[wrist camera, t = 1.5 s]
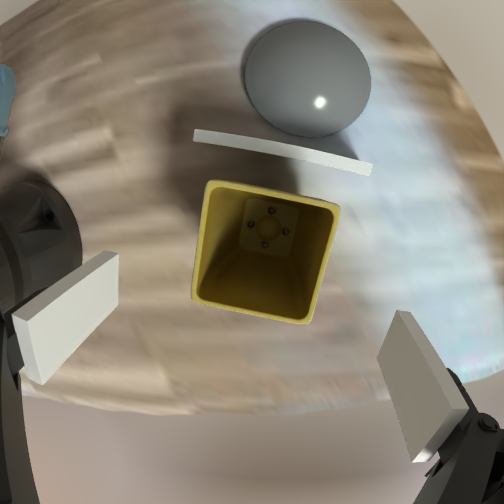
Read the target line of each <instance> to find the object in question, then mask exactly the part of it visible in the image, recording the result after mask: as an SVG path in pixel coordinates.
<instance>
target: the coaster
mask: <svg viewBox="0 0 504 504" xmlns="http://www.w3.org/2000/svg"><path fill="white" fill-rule="evenodd" d="M245 82H246V88H247V91H248V95H249V97H250V99H251V101H252V103H253V105H254V106H255V108H256V109H257V111H258V112H259V113H260V114H261V115H262V117H264V118H265V119H266V120H267V121H268V122H269V123H271V124H272V125H273V126H275V127H276V128H278V129H280V130H282V131H284V132H287V133H289V134H293V135H297V136H302V137H321V136H326V135H330V134H333V133H336V132H339V131H340V130H342V129H344V128H346V127H347V126H349V125H350V124H352V123H353V122H354V121H355V120H356V119H357V118H358V117H359V116H360V114H361V113H362V112H363V110H364V108H365V106H366V104H367V102H368V99H369V95H370V91H371V76H370V70H369V67H368V64H367V61H366V59H365V57H364V55H363V54H362V52H361V51H360V49H359V48H358V47H357V46H356V44H355V43H354V42H353V41H352V40H351V39H349V38H348V37H347V36H346V35H344V34H343V33H341V32H340V31H338V30H336V29H334V28H332V27H329V26H327V25H324V24H320V23H314V22H293V23H289V24H285V25H282V26H279V27H277V28H275V29H273V30H271V31H270V32H268V33H267V34H265V35H264V36H263V37H262V38H261V39H260V40H259V41H258V42H257V43H256V44H255V46H254V47H253V49H252V51H251V52H250V55H249V57H248V60H247V63H246V69H245Z"/></svg>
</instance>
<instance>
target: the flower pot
mask: <svg viewBox="0 0 504 504" xmlns="http://www.w3.org/2000/svg"><path fill="white" fill-rule="evenodd" d="M271 207H272V208H274V209H275V212H274V213H273V214H271V213H270V212H269V209H270V208H271ZM340 212H341V210H340V206H339V205H337V204H335V203H331V202H328V201H325V200H322V199H318V198H313V197H308V196H303V195H298V194H293V193H288V192H283V191H278V190H274V189H269V188H264V187H259V186H254V185H249V184H244V183H239V182H234V181H227V180H217V179H212V180H209V181H208V182H207V184H206V187H205V191H204V198H203V205H202V212H201V219H200V226H199V233H198V240H197V248H196V256H195V263H194V271H193V277H192V285H191V299H192V301H194V302H196V303H199V304H203V305H207V306H212V307H217V308H222V309H226V310H231V311H236V312H241V313H246V314H250V315H255V316H260V317H265V318H270V319H274V320H279V321H284V322H289V323H294V324H309V323H310V322H311V320H312V317H313V313H314V310H315V306H316V302H317V298H318V294H319V291H320V287H321V283H322V279H323V275H324V272H325V268H326V265H327V261H328V258H329V254H330V250H331V247H332V244H333V240H334V237H335V233H336V229H337V226H338V222H339V218H340ZM249 221H252V222H254V226H253V227H249V226H248V222H249ZM284 228H287V229H288V230H289V233H288V234H284V233H283V229H284ZM264 241H266V242H267V243H268V246H267V247H263V246H262V243H263V242H264Z"/></svg>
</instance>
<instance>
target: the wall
mask: <svg viewBox="0 0 504 504" xmlns="http://www.w3.org/2000/svg"><path fill="white" fill-rule="evenodd" d="M193 141H195V142H202V143H209V144H216V145H222V146H229V147H235V148H241V149H247V150H252V151H258V152H263V153H269V154H274V155H279V156H284V157H289V158H294V159H298V160H303V161H308V162H312V163H317V164H321V165H325V166H330V167H334V168H338V169H342V170H346V171H350V172H354V173H358V174H362V175H366V176H370V173H371V169H372V164H370V163H366V162H362V161H359V160H355V159H351V158H347V157H343V156H339V155H335V154H331V153H326V152H322V151H318V150H313V149H309V148H304V147H300V146H295V145H290V144H285V143H280V142H275V141H269V140H264V139H258V138H253V137H247V136H241V135H235V134H228V133H221V132H214V131H207V130H200V129H195V131H194V137H193Z"/></svg>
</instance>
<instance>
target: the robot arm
mask: <svg viewBox="0 0 504 504" xmlns="http://www.w3.org/2000/svg"><path fill="white" fill-rule="evenodd" d="M15 91H16V77H15V74H14V72H13V70H12V69H11V68H10V67H9V66H8V65H6V64H3V63H1V62H0V154H1V149H2V145H3V140H4V136H7V134H8V130H9V128H8V119H9V115H10V111H11V107H12V103H13V99H14V95H15ZM118 261H119V254H118V253H114V252H110V251H106V250H105V251H103V252H102V253H100V254H99V255H97V256H96V257H94V258H92V259H91V260H89V261H88V262H86V263H85V264H83V265H82V243H81V238H80V233H79V229H78V226H77V223H76V220H75V218H74V216H73V214H72V212H71V210H70V208H69V206H68V205H67V203H66V202H65V200H64V199H63V198H62V196H61V195H60V194H59V193H58V192H57V191H56V190H55V189H53V188H52V187H51V186H49V185H47V184H46V183H43V182H40V181H36V180H29V181H24V182H19V183H16V184H13V185H11V186H9V187H7V188H6V189H4V190H3V191H2V192H0V504H40V502H39V498H38V494H37V490H36V486H35V482H34V478H33V473H32V468H31V463H30V458H29V452H28V446H27V439H26V432H25V425H24V416H23V406H22V393H21V378H20V374H19V370H20V369H21V368H22V367H23V366H24V367H25V370H26V374H27V377H28V378H29V379H31V380H33V381H35V382H37V383H39V384H41V385H44V384H45V383H46V382H47V380H48V379H49V378H50V377H51V376H52V375H53V374H54V373H55V371H56V370H57V369H58V368H59V367H60V366H61V365H62V364H63V363H64V362H65V360H66V359H67V358H68V357H69V356H70V355H71V354H72V353H73V352H74V351H75V350H76V349H77V347H78V346H79V345H80V344H81V343H82V342H83V341H84V340H85V339H86V338H87V337H88V336H89V335H90V334H91V333H92V332H93V331H94V329H95V328H96V327H97V326H98V325H99V324H100V323H101V322H102V321H103V320H104V319H105V318H106V317H107V316H108V315H109V314H110V313H111V312H112V311H113V310H114V309H115V308H116V307H117V306H118ZM377 360H378V362H379V365H380V368H381V371H382V373H383V376H384V379H385V382H386V384H387V387H388V390H389V393H390V396H391V399H392V402H393V405H394V407H395V410H396V414H397V417H398V420H399V423H400V426H401V429H402V432H403V435H404V438H405V442H406V445H407V448H408V451H409V455H410V458H411V461H412V462H424V461H429V460H430V459H431V458H432V457H433V456H434V454H435V453H436V452H437V451H438V453H439V456H440V459H439V460H438V462H437V463H436V464H435V465H434V466H433V467H432V468H431V469H430V470H429V471H428V472H427V473H426V475H425V476H426V477H427V476H428V475H429V474H430V475H429V477H428V479H427V480H426V482H425V484H424V486H423V488H422V489H421V491H420V493H419V494H418V496H417V498H416V500H415V501H414V503H413V504H504V429H500V427H499V424H498V422H497V421H496V420H495V419H494V418H493V417H491V416H490V415H488V414H485V413H479V412H478V411H477V409H476V407H475V405H474V404H473V402H472V400H471V399H470V397H469V395H468V393H467V392H466V390H465V388H464V387H463V386H462V383H461V382H460V380H459V378H458V377H457V375H456V374H455V373H453V372H452V371H451V370H450V369H449V368H446V367H445V365H444V364H443V362H442V360H441V359H440V357H439V356H438V354H437V352H436V351H435V349H434V348H433V346H432V344H431V343H430V341H429V340H428V338H427V337H426V335H425V334H424V332H423V330H422V329H421V327H420V326H419V324H418V323H417V321H416V320H415V318H414V317H413V315H412V314H411V312H406V311H400V310H397V311H396V313H395V316H394V318H393V321H392V323H391V326H390V328H389V330H388V333H387V335H386V338H385V340H384V342H383V345H382V347H381V349H380V351H379V354H378V356H377Z"/></svg>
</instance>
